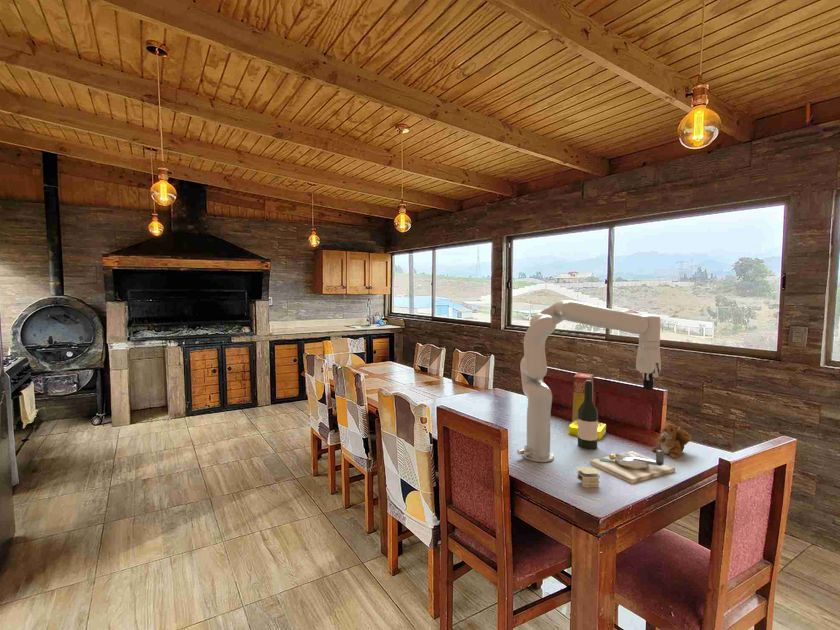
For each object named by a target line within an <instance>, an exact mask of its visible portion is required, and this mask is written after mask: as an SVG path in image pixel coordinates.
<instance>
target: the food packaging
mask: <svg viewBox="0 0 840 630" xmlns="http://www.w3.org/2000/svg"><path fill="white" fill-rule="evenodd" d="M594 375H595V374H594V373H585V372H577V373H576V374H574V376H573V377H572V399H571V400H572V406H571V407H572V408H571V423H572V422H573V421H574V420H576V419H578V409H579V408H580V406H581V405H582V403H583V402H584V387H585V382H586V380H592V382H593V383H594ZM592 401H593V402H594V391H593V392H592Z"/></svg>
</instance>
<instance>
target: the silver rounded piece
mask: <svg viewBox="0 0 840 630" xmlns="http://www.w3.org/2000/svg"><path fill="white" fill-rule="evenodd" d="M627 452H628V451H626V452H624V451H623V452H617V453H615V454H614V453H610V454H609V455H608V456H609V458H610V459H611V460H614V459H615V462H616V463H617V464H618V465H620V466H622V467H625V468H629V469H636V470H643V469H647V468H649V464H651V465H657V466H661V465H664V464H665V453H664V451H663V450H656V451H655V459H654V460H650V459H647V458H646V457H647V456H646V457H644V456H645V455H643V456H641V455H642V454H641V455H638V454H639V453H638V454H634V453H627Z"/></svg>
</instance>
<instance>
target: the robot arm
mask: <svg viewBox="0 0 840 630" xmlns="http://www.w3.org/2000/svg"><path fill="white" fill-rule="evenodd" d="M563 321H566V322H570V323H577V324H581V325H586V326H589V327H596V328H601V329H610V330H617V331H622V332H625V333H629V334H635V335H638V348H637V352H636V360H635V369H636V371H638V372H639V374H641V375H642V379H643V385H642V386H643V389H644V390H646V391H648V390H649V391H652V390H654V381H655V378H659V374H661V370H662V369H661V368H662V361H661V360H662V359H661V357H662V356H661V351H660V350H661V347H660V346H661V316H659V315H655V314H643V315H640V314H634V313H630V312H625V311H620V310H616V309H615V310H614V309H611V308H607V307H603V306H599V305H594V304H589V303H584V302H580V301H575V300H569V299H566V300H565V299H563V300H562V299H561V300H558V301H556V302H554V303H553V304H551V305H549V306H547V307H545V308H544V309H543V310H540V311H539V312H537V313H535V314H534V315H533V316H532V317H531V318H530V321H529V326H528V328H527V330H526V332H525V333H524V337H523V354H524V355H523V356H522V358H521V360H520V363H519V365H520V366H519V367H520V378H521V385H522V387H521V388H522V391H523V394H524V395H525V397H526V398H527V407H526V445H524V448H522V449H521V448H520V449H517V451H516V453H517V455H518V456H520V455H522V456H523V458H525V459H526V460H528V461H530V462H535V463H548V462H551V461H553V460H555V456H554V453H553V452H551V415H552V413H551V412H552V411H551V410H552V404H553V394H552V393H553V392H552V390H551V388H550V387H549V386H548V385H547V384H546V383H545V381H544V377H546V375H547V372H548V364H547V357H546V340H547V338H548V337H549V336H550V335H551V334H553V332H555V330H556V329H557V325H558V324H560V323H562V322H563Z"/></svg>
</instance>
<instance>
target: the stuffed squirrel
mask: <svg viewBox="0 0 840 630" xmlns="http://www.w3.org/2000/svg"><path fill="white" fill-rule="evenodd" d="M664 423H665V424H664V426H663V428H662V429H660V430H659V433H663V435H660V436H658V437H657V441H658V445H657V446H653V447H651V451H653V452H656V450H663V451H664V455H665V454H666V455H668V456H670V457H671V458H672V459H677V458H679V457H681V454H682V452H683V451H684V449H685V445H688V443H690V442H692V439H691V437H692V435H691V434H689V432H688V431H686V430H683V429H681V426H677V425H676V424H673V423H670V422H667V421H666V422H664Z"/></svg>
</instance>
